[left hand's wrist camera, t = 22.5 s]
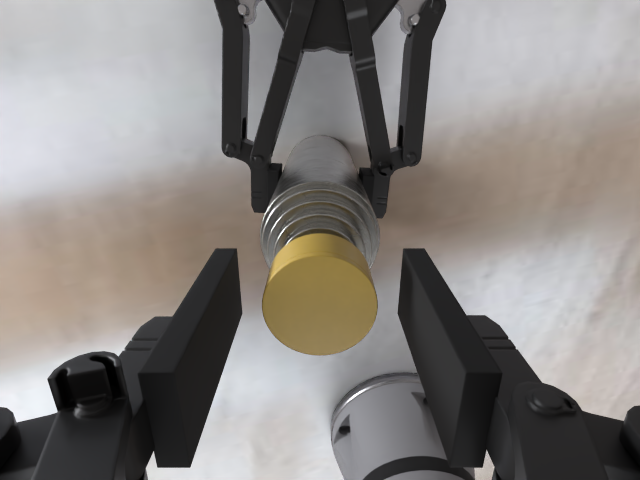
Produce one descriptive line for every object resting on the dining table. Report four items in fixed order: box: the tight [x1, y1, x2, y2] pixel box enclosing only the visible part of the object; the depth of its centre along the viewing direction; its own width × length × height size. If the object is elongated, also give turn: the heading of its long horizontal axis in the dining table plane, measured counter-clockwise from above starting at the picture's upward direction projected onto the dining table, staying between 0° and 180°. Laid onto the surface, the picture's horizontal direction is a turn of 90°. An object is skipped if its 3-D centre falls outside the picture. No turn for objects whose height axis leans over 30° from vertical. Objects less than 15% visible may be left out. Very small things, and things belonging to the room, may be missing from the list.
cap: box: [262, 233, 378, 355], centre depth 14 cm, size 4×4×2 cm
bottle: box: [260, 135, 380, 269], centre depth 24 cm, size 6×6×22 cm
